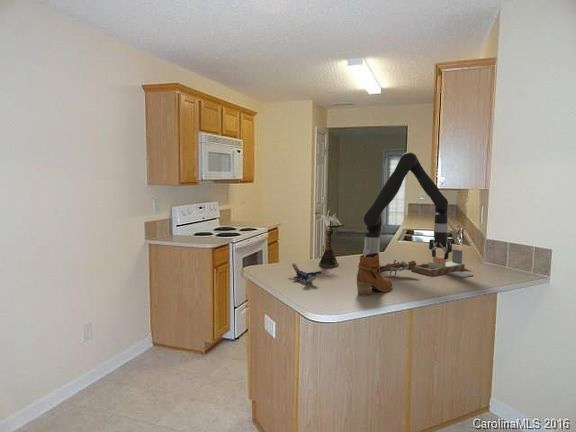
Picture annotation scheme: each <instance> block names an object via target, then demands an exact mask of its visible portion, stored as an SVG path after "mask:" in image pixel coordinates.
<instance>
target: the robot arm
mask: <svg viewBox="0 0 576 432" xmlns="http://www.w3.org/2000/svg"><path fill="white" fill-rule="evenodd" d="M409 172H411V173H412V174H413V176H414V177H415V178H416V179H417V182H418V183H419V185H420V187H421V188H422V189H423V191H424V192H425V194H426V195H427V196H428V197H429V198H430V200H431V202H432V203H433V204H434V207H435V210H434V211H435V215H434V225H433V239H432V238H431V239H429V243H428V244H429V245H428V249H429V250H431V257H432V258H433V257H436V256H437V251H436V250H437V249H442V251H443V252H444V256H443V257H444V259H445V260H446V261H447V260H448V259H449V253H453V245H452V241H448V234H449V233H448V232H449V229H448V228H449V227H448V226H449V225H448V207H449V206H448V204H449V201H448V199H447V198H446V197H445V196H444V195H443V193H442V192H441V191H440V189H439V188H438V186H437V184H436V183H435V182H434V181H433V179H432V178H431V177H430V176H429V174H427V172H426V171H425V170H424V168H423V167H422V164H421V163H420V160H419V159H418V157H417V155H416V154H415V153H414V152H405V153H403V154H402V155H401V156H400V158H399V160H398V162H397V164H396V167H395V168H394V170H393V172H392V173H391V175H390V176H389V177H388V179H386V181H385V183H384V184H383V186H382V187H381V189H380V192H379V193H378V195H377V196H376V198H375V201H374V202H373V204H372V205H371V206H370V207H369V209H368V210H367V212H366V213H365V214H364V216H363V222H364V223H363V224H364V225H366V229H365V232H364V248H363V249H362V250H363V251H362V253H363V254H362V255H364V257H366V255H367V254H371V253H379V254H380V239H381V237H380V236H381V232H382V212H384V209H386V208H387V206H389V204H391V202H392V201H393V200H394V199H395V197H396V196H397V194H398V193H399V191H400V189H401V187H402V184H403V182H404V179H405V178H406V176H407V175H408V173H409Z"/></svg>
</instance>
